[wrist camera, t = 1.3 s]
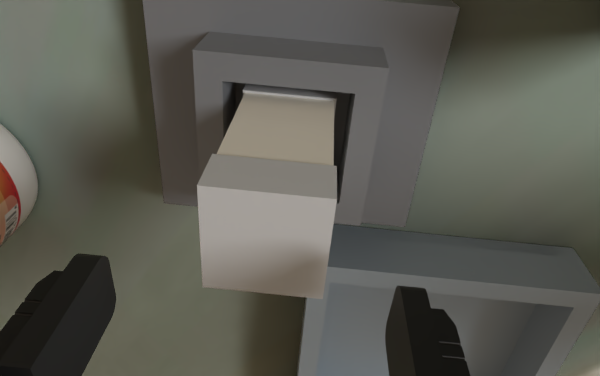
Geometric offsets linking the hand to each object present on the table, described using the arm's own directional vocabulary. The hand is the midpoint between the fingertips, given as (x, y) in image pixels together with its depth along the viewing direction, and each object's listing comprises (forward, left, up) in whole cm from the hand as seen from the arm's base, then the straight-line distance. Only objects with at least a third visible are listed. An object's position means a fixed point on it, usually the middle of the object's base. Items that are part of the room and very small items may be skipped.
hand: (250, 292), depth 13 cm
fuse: (0, 0, -12) cm, 12 cm away
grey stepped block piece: (0, 0, -14) cm, 14 cm away
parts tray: (-10, +16, -14) cm, 24 cm away
